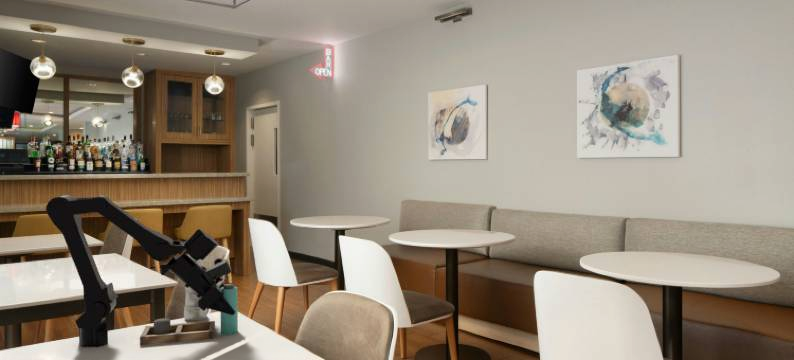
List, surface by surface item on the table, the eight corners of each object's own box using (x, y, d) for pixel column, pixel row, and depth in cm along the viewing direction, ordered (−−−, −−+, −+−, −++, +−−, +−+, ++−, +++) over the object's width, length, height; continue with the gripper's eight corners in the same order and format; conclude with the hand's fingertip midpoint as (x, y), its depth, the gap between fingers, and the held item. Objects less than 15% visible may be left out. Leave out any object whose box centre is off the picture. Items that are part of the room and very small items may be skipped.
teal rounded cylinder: (217, 337, 150) (216, 286, 149) (228, 332, 154) (227, 282, 153) (230, 339, 148) (229, 287, 148) (241, 334, 152) (240, 284, 152)
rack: (140, 349, 141) (139, 337, 141) (145, 337, 150) (145, 326, 150) (213, 342, 146) (213, 331, 145) (215, 331, 155) (214, 320, 154)
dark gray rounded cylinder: (150, 338, 146) (150, 321, 145) (163, 334, 149) (162, 317, 149) (161, 340, 144) (161, 323, 144) (174, 336, 147) (173, 319, 147)
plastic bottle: (192, 326, 160) (191, 256, 159) (179, 321, 164) (178, 253, 163) (212, 320, 165) (211, 253, 164) (198, 316, 169) (197, 250, 168)
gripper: (211, 256, 140) (257, 297, 144) (214, 245, 158) (254, 281, 162) (178, 290, 138) (225, 330, 142) (184, 274, 156) (226, 310, 160)
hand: (234, 311), depth 151 cm, fingers closed on teal rounded cylinder, 4 cm apart
